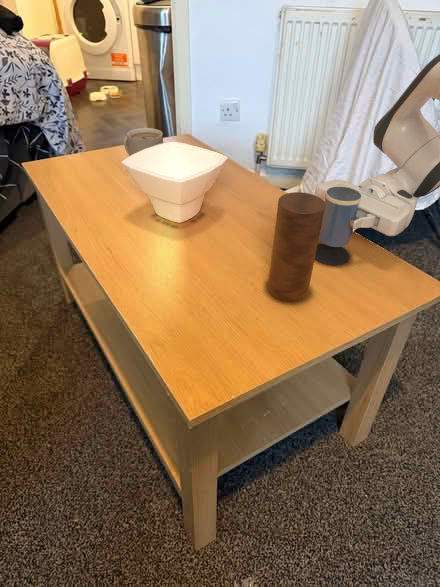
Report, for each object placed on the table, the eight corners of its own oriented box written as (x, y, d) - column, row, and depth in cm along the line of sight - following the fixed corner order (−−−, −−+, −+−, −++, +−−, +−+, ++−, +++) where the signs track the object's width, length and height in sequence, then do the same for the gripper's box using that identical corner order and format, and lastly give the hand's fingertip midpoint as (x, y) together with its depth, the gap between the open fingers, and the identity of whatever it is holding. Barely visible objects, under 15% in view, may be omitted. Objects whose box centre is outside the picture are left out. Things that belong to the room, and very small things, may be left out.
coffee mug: (171, 169, 121) (169, 134, 115) (143, 177, 116) (139, 142, 109) (146, 156, 129) (143, 122, 122) (118, 163, 123) (113, 129, 117)
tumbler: (350, 232, 87) (361, 188, 81) (350, 249, 82) (362, 203, 75) (318, 228, 88) (326, 184, 82) (316, 244, 83) (325, 199, 77)
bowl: (172, 191, 109) (169, 138, 101) (232, 212, 101) (235, 156, 92) (121, 218, 97) (113, 160, 88) (185, 245, 89) (182, 184, 80)
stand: (308, 280, 80) (325, 194, 69) (307, 304, 74) (325, 215, 63) (269, 275, 81) (280, 189, 70) (265, 298, 75) (276, 210, 64)
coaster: (348, 247, 90) (348, 245, 89) (349, 267, 84) (350, 266, 83) (311, 242, 91) (311, 241, 91) (310, 262, 85) (310, 261, 84)
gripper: (341, 168, 92) (299, 183, 85) (425, 201, 80) (384, 222, 73) (335, 194, 96) (294, 210, 89) (414, 230, 84) (375, 252, 77)
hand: (335, 216), depth 81 cm, fingers closed on tumbler, 6 cm apart
